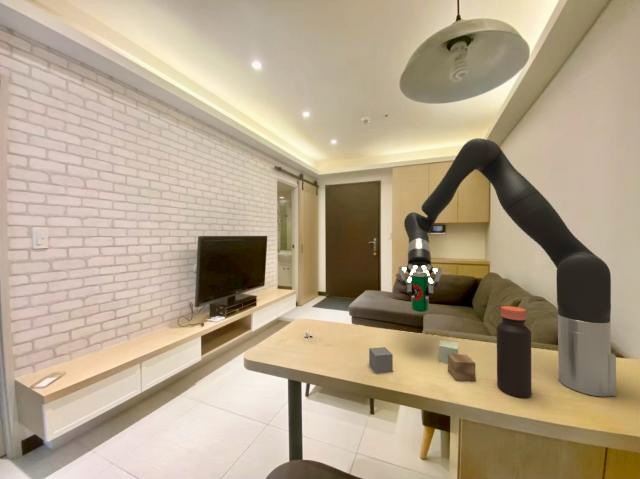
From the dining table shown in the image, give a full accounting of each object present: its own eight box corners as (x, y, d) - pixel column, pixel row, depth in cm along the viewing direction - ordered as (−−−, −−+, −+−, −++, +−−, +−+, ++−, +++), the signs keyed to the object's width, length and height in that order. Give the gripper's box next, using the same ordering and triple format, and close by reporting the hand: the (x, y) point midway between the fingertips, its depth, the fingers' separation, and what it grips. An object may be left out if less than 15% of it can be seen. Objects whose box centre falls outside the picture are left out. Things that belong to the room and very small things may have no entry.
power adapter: (309, 336, 100) (309, 328, 100) (313, 338, 98) (313, 330, 98) (303, 339, 98) (303, 330, 98) (308, 340, 96) (308, 332, 96)
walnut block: (466, 372, 72) (466, 354, 72) (475, 382, 67) (475, 362, 67) (447, 371, 72) (447, 353, 73) (455, 381, 68) (455, 362, 68)
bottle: (538, 394, 61) (537, 310, 62) (520, 401, 59) (520, 313, 59) (507, 380, 68) (507, 304, 68) (490, 386, 65) (490, 306, 65)
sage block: (458, 359, 80) (458, 343, 80) (457, 366, 75) (457, 349, 76) (440, 355, 82) (440, 340, 82) (439, 362, 78) (439, 345, 78)
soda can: (430, 312, 79) (429, 273, 79) (412, 311, 80) (412, 273, 80) (426, 308, 84) (426, 271, 84) (410, 307, 85) (410, 271, 85)
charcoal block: (385, 363, 77) (385, 347, 77) (392, 372, 72) (392, 354, 72) (369, 365, 76) (369, 348, 76) (375, 373, 71) (375, 355, 71)
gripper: (397, 247, 92) (395, 286, 80) (441, 247, 87) (446, 289, 75) (398, 260, 97) (396, 300, 85) (440, 261, 92) (444, 303, 80)
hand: (420, 295), depth 80 cm, fingers closed on soda can, 5 cm apart
